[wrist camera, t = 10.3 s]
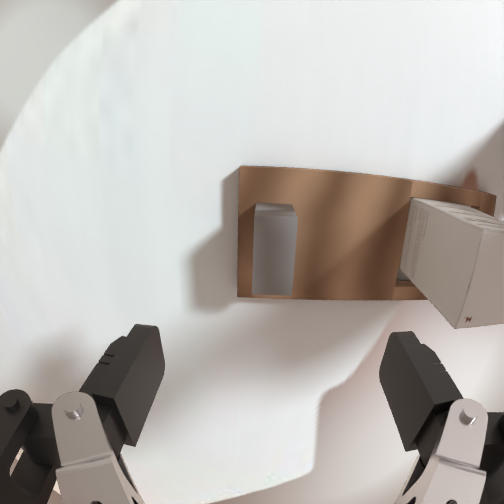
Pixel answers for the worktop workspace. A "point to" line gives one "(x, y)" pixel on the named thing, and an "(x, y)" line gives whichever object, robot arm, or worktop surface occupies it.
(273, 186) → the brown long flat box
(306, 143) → the worktop surface
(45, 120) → the worktop surface
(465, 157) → the worktop surface
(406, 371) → the robot arm
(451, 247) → the supplement box
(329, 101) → the worktop surface
